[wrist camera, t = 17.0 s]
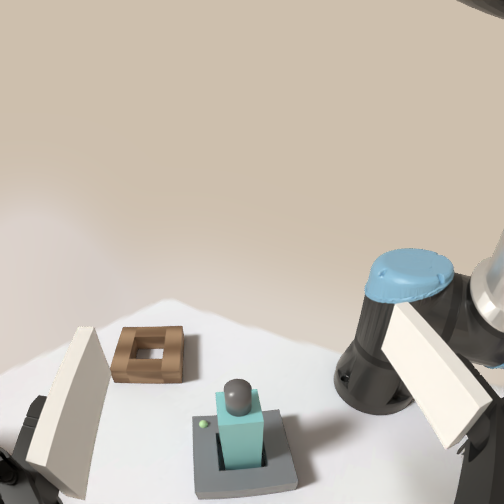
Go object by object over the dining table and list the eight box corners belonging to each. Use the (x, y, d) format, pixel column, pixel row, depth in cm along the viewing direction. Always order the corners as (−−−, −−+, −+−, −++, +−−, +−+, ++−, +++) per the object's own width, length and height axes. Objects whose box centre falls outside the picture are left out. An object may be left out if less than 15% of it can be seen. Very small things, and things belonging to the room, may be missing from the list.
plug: (223, 447, 35) (213, 374, 28) (255, 444, 35) (257, 370, 29) (226, 474, 31) (215, 408, 24) (260, 471, 31) (264, 403, 25)
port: (195, 427, 38) (191, 413, 36) (277, 420, 39) (279, 406, 38) (198, 499, 27) (194, 490, 25) (295, 489, 28) (299, 480, 27)
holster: (126, 338, 55) (122, 327, 54) (184, 337, 56) (182, 325, 55) (114, 382, 44) (109, 370, 43) (181, 383, 46) (179, 371, 44)
